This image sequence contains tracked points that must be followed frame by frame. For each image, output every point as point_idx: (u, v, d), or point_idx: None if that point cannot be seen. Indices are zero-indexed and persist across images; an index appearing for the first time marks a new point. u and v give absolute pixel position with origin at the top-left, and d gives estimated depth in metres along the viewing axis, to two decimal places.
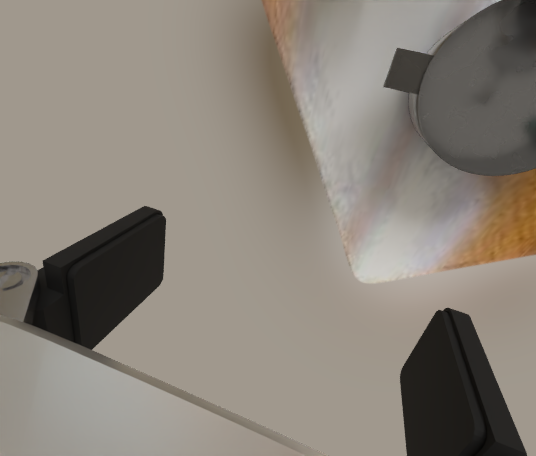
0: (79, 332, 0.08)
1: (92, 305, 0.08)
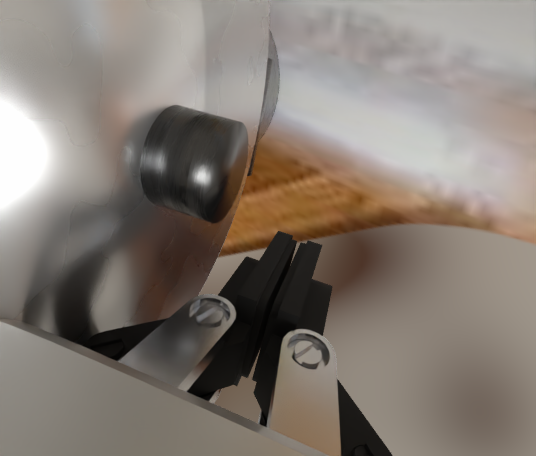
0: (250, 359, 0.08)
1: (260, 333, 0.09)
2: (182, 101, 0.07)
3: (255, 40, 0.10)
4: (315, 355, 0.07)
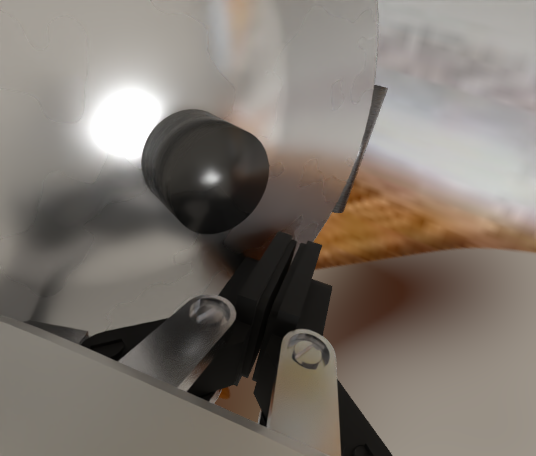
0: (250, 359, 0.08)
1: (260, 333, 0.09)
2: (209, 107, 0.07)
3: (348, 62, 0.09)
4: (315, 355, 0.07)
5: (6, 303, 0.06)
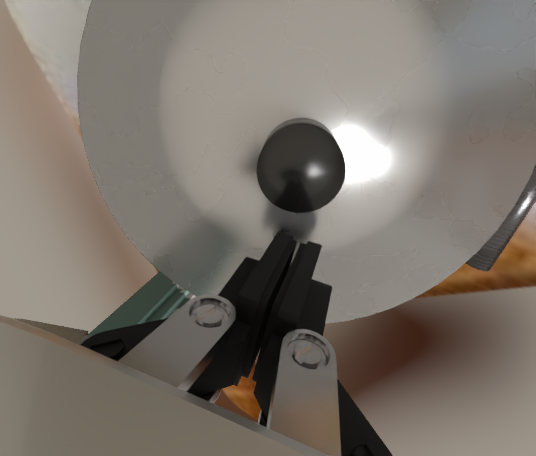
0: (250, 359, 0.08)
1: (260, 333, 0.09)
2: (321, 119, 0.09)
3: (499, 93, 0.09)
4: (315, 355, 0.07)
5: (172, 214, 0.11)
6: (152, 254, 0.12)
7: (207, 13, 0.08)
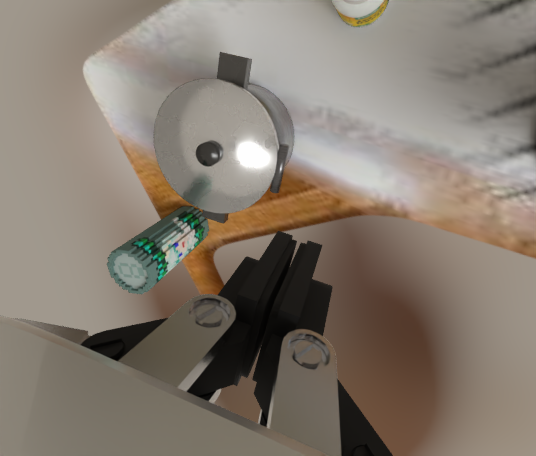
0: (250, 359, 0.08)
1: (260, 333, 0.09)
2: (216, 140, 0.32)
3: (260, 135, 0.31)
4: (315, 355, 0.07)
5: (177, 168, 0.35)
6: (171, 182, 0.36)
7: (186, 113, 0.32)
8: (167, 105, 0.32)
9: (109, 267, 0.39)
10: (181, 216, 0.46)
